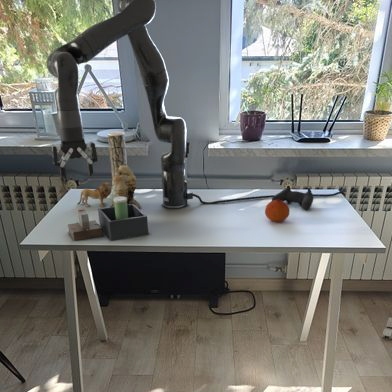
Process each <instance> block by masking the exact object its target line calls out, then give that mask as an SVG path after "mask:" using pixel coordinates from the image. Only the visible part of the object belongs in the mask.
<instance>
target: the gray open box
mask: <svg viewBox="0 0 392 392" xmlns="http://www.w3.org/2000/svg"><path fill="white" fill-rule="evenodd" d="M127 210H128V219H121V220H116V215H115V206H114V207H110V206H108V207H102V208H97V214H98V224H99V226H100V227H101V228H102V232H104V233H105V234H106V236H107V238H108V239H110V241H116V240H122V239H128V238H134V237H141V236H146V235H149V225H148V224H149V222H148V215H146V213H145V212H143V211H142V210H141V209H140V207H139V208H137V207H136V206H135V205H134V204H128V205H127Z"/></svg>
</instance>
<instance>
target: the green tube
mask: <svg viewBox="0 0 392 392" xmlns="http://www.w3.org/2000/svg"><path fill="white" fill-rule="evenodd" d="M113 201H114V205H115V215H116V220H121V219H128V210H127V198H126V197H115V198H114V197H113Z"/></svg>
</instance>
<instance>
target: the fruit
mask: <svg viewBox="0 0 392 392" xmlns="http://www.w3.org/2000/svg"><path fill="white" fill-rule="evenodd" d="M264 215H265V217H266V218H267V219H268V220H269V221H271V222H274V223H281V222H284V221H285V220H287V219H288V218H289V216H290V207H289V205H288V203H287V202H286V201H282V200H278V199H276V200H274V201H272V200H271V201H270V202H268V203H267V205H266V206H265V209H264Z"/></svg>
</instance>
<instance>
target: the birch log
mask: <svg viewBox="0 0 392 392" xmlns="http://www.w3.org/2000/svg"><path fill="white" fill-rule="evenodd" d="M125 136H126V135H125V131H120V130H117V131H116V130H113V131H108V132H107V141H108V142H107V143H108V150H109V161H110V170H111V179H112V180H111V181H113V177H115V176H119V174H118V168H119V167H120V166H123V165H125V166H127V167H128V160H127V148H126V137H125Z"/></svg>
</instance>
